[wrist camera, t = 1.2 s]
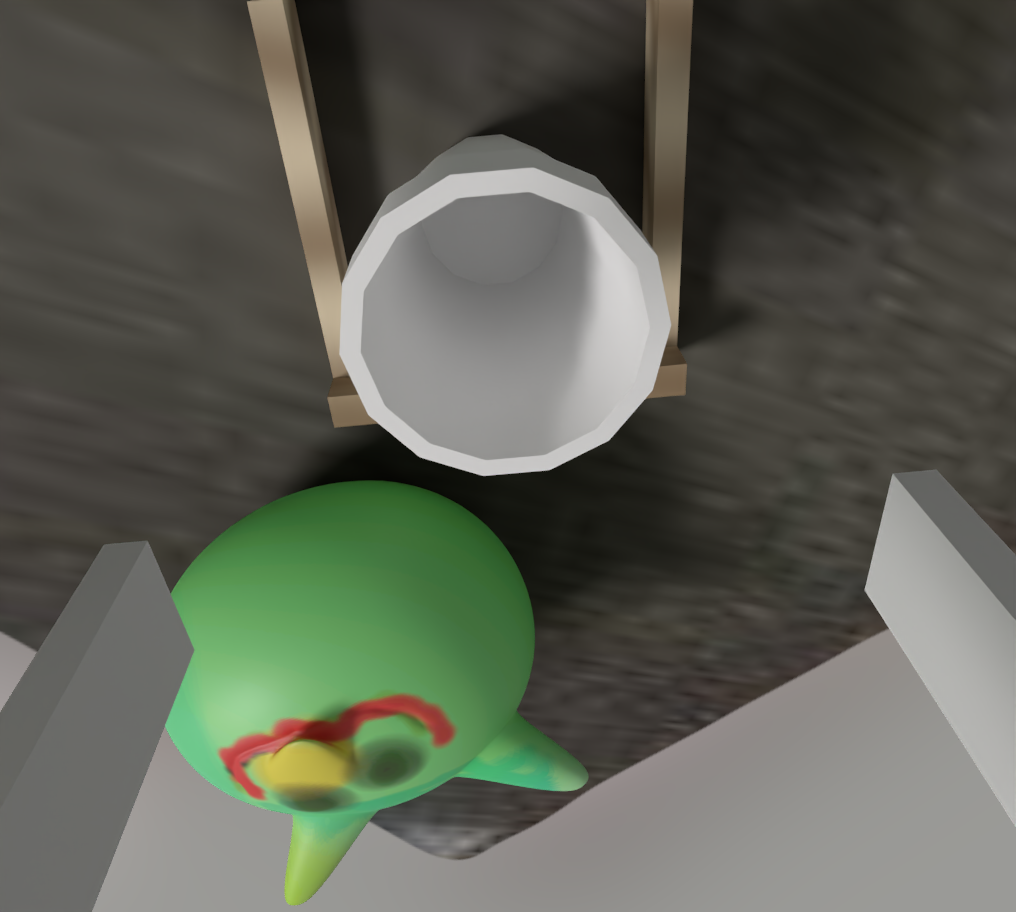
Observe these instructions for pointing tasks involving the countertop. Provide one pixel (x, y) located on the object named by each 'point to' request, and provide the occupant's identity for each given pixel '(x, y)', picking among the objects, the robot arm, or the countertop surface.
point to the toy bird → (357, 663)
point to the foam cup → (502, 311)
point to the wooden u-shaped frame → (318, 209)
